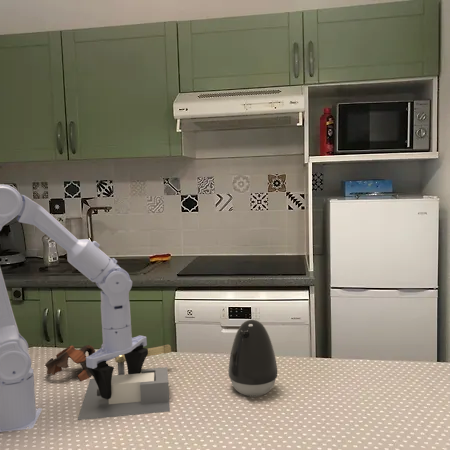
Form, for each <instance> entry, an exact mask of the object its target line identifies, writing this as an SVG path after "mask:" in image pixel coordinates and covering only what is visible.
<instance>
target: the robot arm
mask: <svg viewBox="0 0 450 450" xmlns="http://www.w3.org/2000/svg"><path fill="white" fill-rule="evenodd" d="M14 218H16V220H17V222H18V223H21V224H26V225H31V226H35V227H36V228H37V229H38V230H40V232H42V233H43V234H45V235H46V236H47V237H48V238H50V239H51V240H52V241H54V242H55V243H56V244H57V245H58V246H59V247H61V248H62V249H64V250H65V251H66V257H67V259H66V260H67V262H68V263H69V264H70V265H71V266H72V267H74V268H75V269H76V270H78V272H80V273H81V274H82V275H83V276H85V277H86V278H87V279H88V280H90V281H91V282H92V283H95V284H96V286H97V287H98V288H99V289H100V317H101V319H100V320H101V332H102V333H101V334H102V344H101V347H100V348H99V349H98V350H95V353H93V354H92V355H90V356H87V357H86V366H87V369H88V370H89V371H90V373H91V374H92V376H91V377H93V379H95V381H96V383H97V386H98V388H99V391H100V394H101V397H102V398H105V399H110V398H111V380H112V376H113V372H114V369H115V366H111V365H109V363H107V362H108V361H111V360H113V359H115V357H118V356H120V355H123V354H124V355H125V359H126V361H125V362H126V366H127V374H139V373H141V369H143V367H144V363H145V360H146V359H147V357H148V356H147V354H148V349H149V348H145V347H146V346H148V342H147V336H144V335H137V336H134V337H133V334H132V317H131V302H130V294H129V293H130V291H131V289H132V288H133V287H132V286H133V280H131V277H130V274H129V272H128V271H126V270H125V269H124V268H123V267H120V265H119V264H117V263H118V260H117V259H115V257H112V258H111V257H110V256H109V255H107V254H106V253H105V252H104V251H103V250H101V249H100V246H101V245H100V243H99V242H97V241H96V240H93V241H91V240H90V239H88V238H83V239H78V238H77V237H76V236H75V235H74V234H73V233H72V232H70V231H69V229H67V228H66V227H65V226H64V224H63V225H62V223H60V222H59V221H58V219H56V218H55V217H54V216H53V215H52V214H51V213H50V212H48V210H47V209H45V208H44V207H43V206H42V205H41V204H38V202H35V201H34V200H32V199H31V198H29V197H28V196H27V195H25V194H21V193H20V192H19V190H17V189H16V188H14V187H13V186H11V185H9V184H0V231H2V229H3V227H4V226H5V225H8V223H9V222H11V221H12V220H14ZM17 324H18V323H17V321H16V318H15V315H14V312H13V308H12V304H11V300H10V297H9V293H8V290H7V286H6V282H5V279H4V275H3V271H2V268H1V266H0V433H1V432H14V431H24V430H31V429H33V428H34V426H35V424H36V423H37V421H38V418H39V416H40V415H41V413H42V411H43V408H42V407H41V408H40V407H39V408H36V392H35V391H36V390H35V389H36V388H35V376H34V375H35V374H34V369H33V368H32V358H31V356H30V353H29V344H28V342H27V340H26V339H25V338H24V336H22V335H21V333H20V330H19V327H18V325H17ZM146 356H147V357H146Z"/></svg>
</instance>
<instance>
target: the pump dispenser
mask: <svg viewBox="0 0 450 450" xmlns="http://www.w3.org/2000/svg"><path fill="white" fill-rule="evenodd" d="M227 369H228V374H227V375H228V378H229V379H230V383H231V385H232V387H233V388H234V389H235V390H236V392H238V393H239V394H241V395H244V396H247V397H250V398H251V397H253V398H255V397H261V396H263V395H265V394H267V393H269V392H270V391H271V390H272V389H273V387H274V385H275V383H276V379H277V378H278V364H277V358H276V355H275V350H274V346H273V343H272V340H271V338H270V335H269V333H268V330H267V329H266V328H265V326H264V324H262V322H260V321H259V320H256V319H248V320H245V321H244V322H242V323H241V325H240V326H239V328H238V330H237V331H236V334H235V336H234V339H233V342H232V346H231V349H230V355H229V363H228V368H227Z"/></svg>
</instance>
